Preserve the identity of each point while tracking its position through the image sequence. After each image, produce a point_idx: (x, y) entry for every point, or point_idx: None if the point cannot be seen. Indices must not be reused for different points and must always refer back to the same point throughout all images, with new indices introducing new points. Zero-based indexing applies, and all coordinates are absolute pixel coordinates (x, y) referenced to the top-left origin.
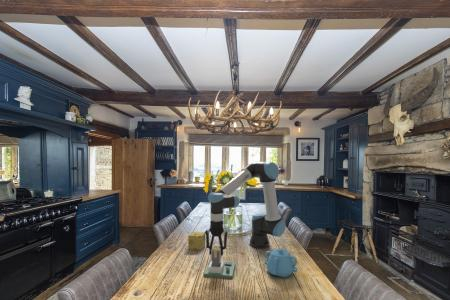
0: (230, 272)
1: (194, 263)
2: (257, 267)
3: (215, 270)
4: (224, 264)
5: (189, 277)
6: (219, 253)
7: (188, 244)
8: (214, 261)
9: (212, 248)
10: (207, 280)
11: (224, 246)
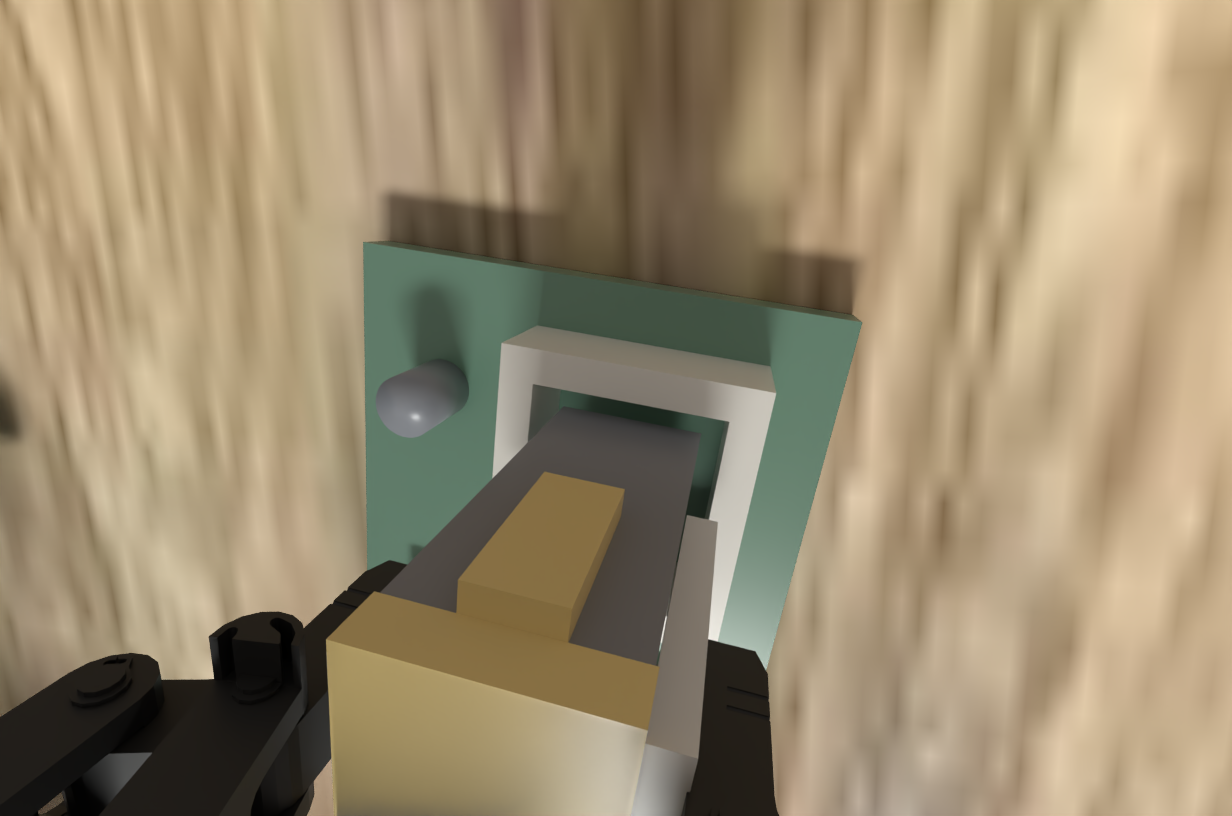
0: (400, 355)
1: (1003, 754)
2: (131, 539)
3: (633, 352)
4: None
5: (1153, 269)
6: None
7: None
8: (630, 467)
9: (631, 788)
10: (786, 159)
11: (29, 753)
